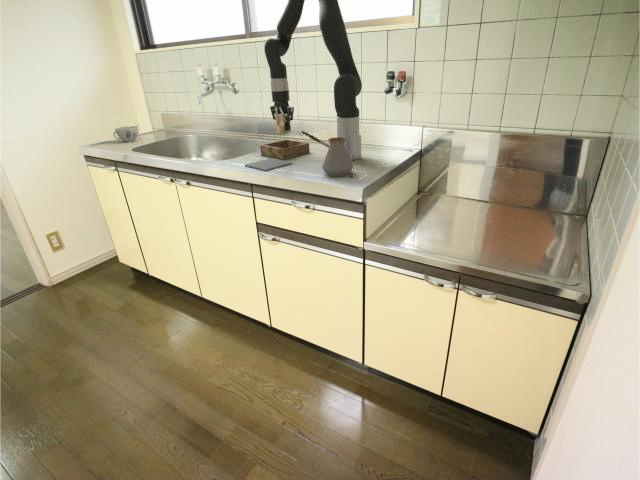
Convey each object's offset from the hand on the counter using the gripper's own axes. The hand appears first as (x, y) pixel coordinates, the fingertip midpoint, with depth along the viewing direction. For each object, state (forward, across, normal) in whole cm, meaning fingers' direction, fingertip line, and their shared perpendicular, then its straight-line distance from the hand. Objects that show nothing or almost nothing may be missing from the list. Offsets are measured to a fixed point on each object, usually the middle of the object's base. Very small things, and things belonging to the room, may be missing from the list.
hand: (283, 130), depth 172 cm
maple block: (+1, 0, 0) cm, 1 cm away
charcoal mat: (+11, -10, +18) cm, 23 cm away
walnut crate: (+11, 0, 0) cm, 11 cm away
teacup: (+9, +105, +32) cm, 111 cm away
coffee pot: (+12, -38, +12) cm, 41 cm away
